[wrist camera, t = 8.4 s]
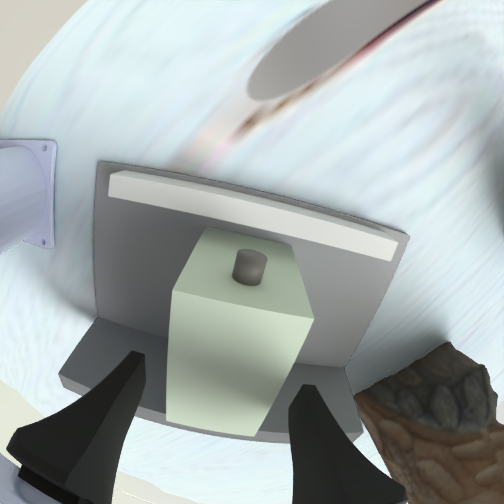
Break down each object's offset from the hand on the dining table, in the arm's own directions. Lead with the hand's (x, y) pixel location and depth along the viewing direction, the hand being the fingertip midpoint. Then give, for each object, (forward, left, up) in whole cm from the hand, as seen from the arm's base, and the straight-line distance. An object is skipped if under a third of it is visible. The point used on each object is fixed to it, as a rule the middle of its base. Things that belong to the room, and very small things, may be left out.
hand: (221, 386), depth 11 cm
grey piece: (0, +1, -7) cm, 7 cm away
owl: (+20, -8, -8) cm, 23 cm away
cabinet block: (0, 0, -7) cm, 7 cm away
